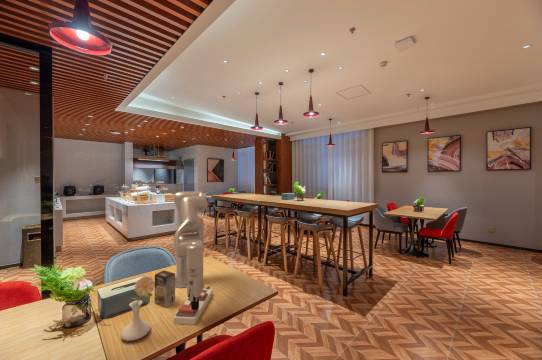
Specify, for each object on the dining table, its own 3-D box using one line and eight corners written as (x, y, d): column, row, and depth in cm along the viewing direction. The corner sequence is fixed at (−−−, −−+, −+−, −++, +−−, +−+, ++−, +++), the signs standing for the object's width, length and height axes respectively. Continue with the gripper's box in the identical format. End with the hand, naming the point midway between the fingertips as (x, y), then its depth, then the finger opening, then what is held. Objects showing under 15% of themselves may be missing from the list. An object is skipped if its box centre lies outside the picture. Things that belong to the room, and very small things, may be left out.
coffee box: (153, 303, 127) (153, 274, 127) (163, 298, 133) (163, 270, 133) (166, 308, 124) (166, 277, 123) (175, 302, 129) (175, 273, 129)
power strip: (173, 323, 111) (173, 315, 111) (200, 287, 147) (200, 280, 147) (194, 324, 110) (194, 316, 110) (216, 287, 146) (216, 281, 146)
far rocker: (190, 296, 126) (190, 293, 126) (193, 292, 131) (194, 289, 131) (202, 299, 126) (203, 296, 126) (205, 295, 130) (206, 292, 130)
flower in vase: (118, 347, 96) (118, 285, 95) (123, 329, 106) (122, 274, 105) (154, 338, 101) (154, 280, 100) (155, 322, 111) (155, 270, 111)
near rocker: (178, 312, 112) (178, 309, 112) (182, 307, 117) (182, 304, 117) (192, 314, 112) (193, 310, 112) (196, 309, 116) (196, 305, 116)
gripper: (197, 276, 106) (197, 317, 106) (207, 264, 121) (207, 300, 121) (180, 276, 106) (180, 317, 106) (193, 264, 121) (193, 300, 121)
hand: (195, 308), depth 114 cm, fingers closed
